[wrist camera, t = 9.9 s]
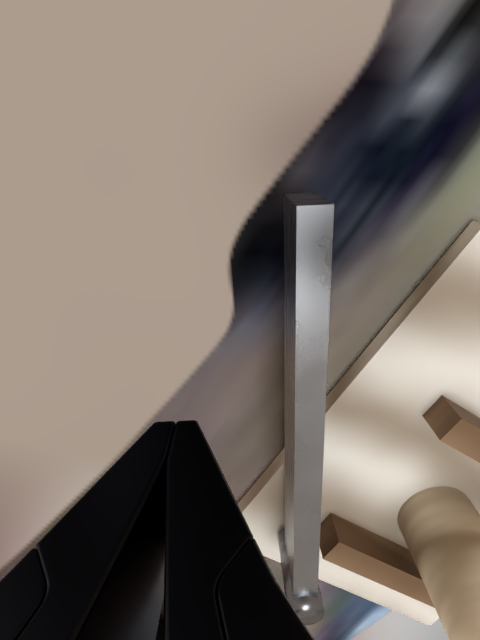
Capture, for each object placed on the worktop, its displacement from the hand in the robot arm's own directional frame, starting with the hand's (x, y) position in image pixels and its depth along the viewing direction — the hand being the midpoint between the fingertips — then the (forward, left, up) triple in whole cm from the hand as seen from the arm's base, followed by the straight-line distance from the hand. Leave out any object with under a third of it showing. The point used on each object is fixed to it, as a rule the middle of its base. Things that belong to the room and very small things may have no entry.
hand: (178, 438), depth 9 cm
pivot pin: (-6, -19, -11) cm, 23 cm away
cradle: (-3, -18, -12) cm, 22 cm away
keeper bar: (-3, -7, -11) cm, 14 cm away
